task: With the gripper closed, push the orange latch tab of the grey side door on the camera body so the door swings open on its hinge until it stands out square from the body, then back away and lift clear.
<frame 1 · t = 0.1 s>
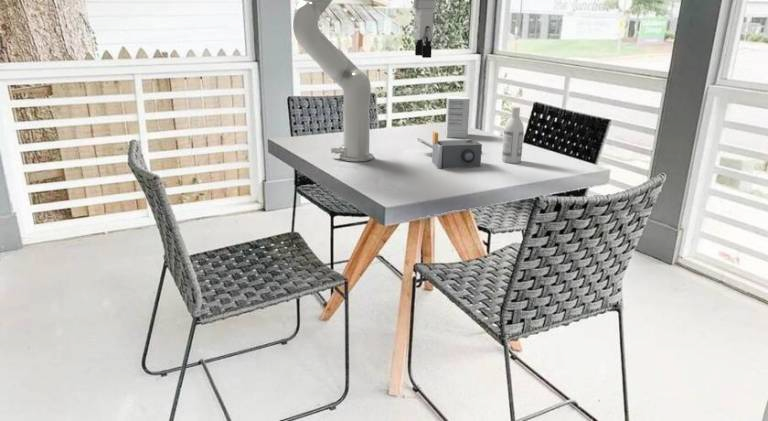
hand: (422, 56, 212), 37 cm above the table, tool pointing down, fingers open, 9 cm apart
side door: (437, 149, 210), point 6 cm above the table, hinge at 0.0°
bath foam: (511, 161, 219), on the table
supplement box: (456, 136, 261), on the table
mobile phone: (449, 154, 230), on the table
camera body: (458, 164, 213), on the table
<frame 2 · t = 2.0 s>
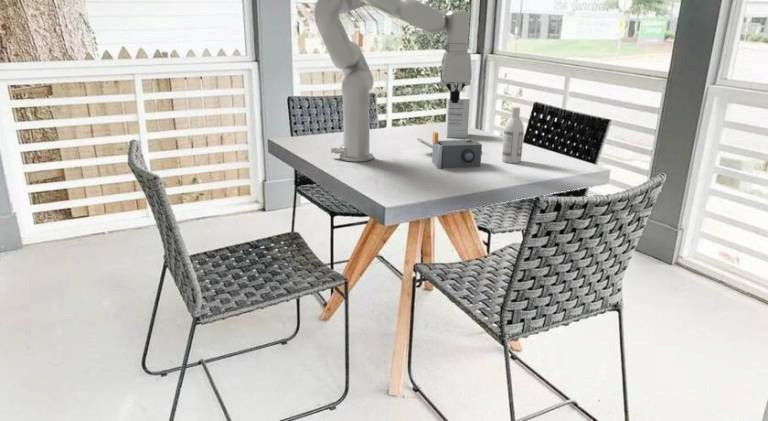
hand: (454, 102, 208), 22 cm above the table, tool pointing down, fingers closed
nothing on the table moved.
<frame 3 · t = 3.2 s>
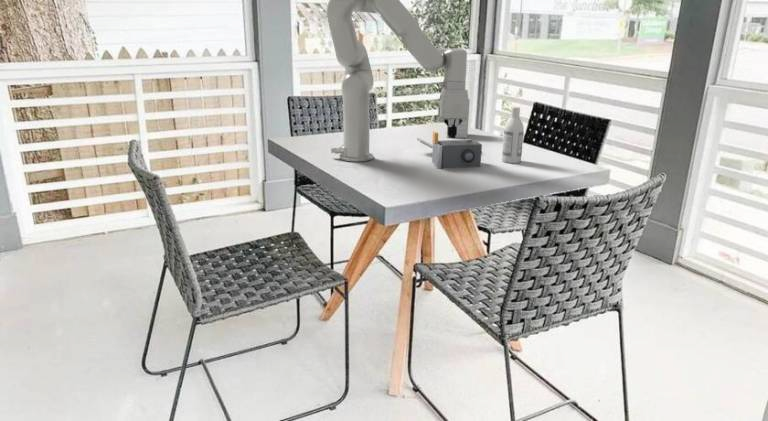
hand: (451, 137, 212), 9 cm above the table, tool pointing down, fingers closed
nothing on the table moved.
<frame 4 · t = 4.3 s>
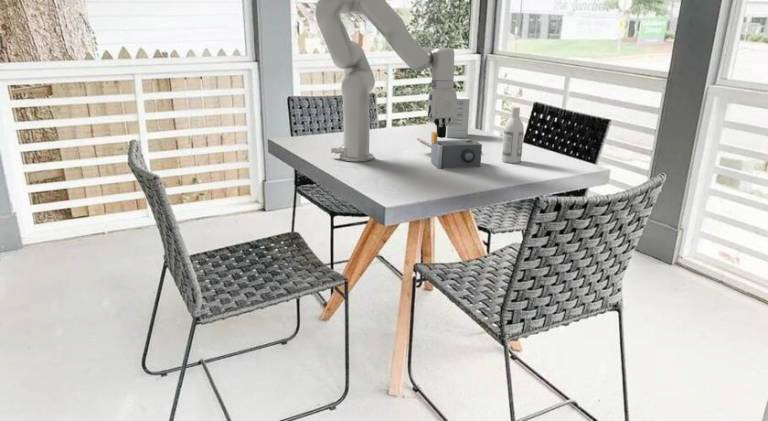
hand: (441, 137, 211), 10 cm above the table, tool pointing down, fingers closed
side door: (436, 149, 210), point 6 cm above the table, hinge at 3.4°, touching gripper
everything else where it was.
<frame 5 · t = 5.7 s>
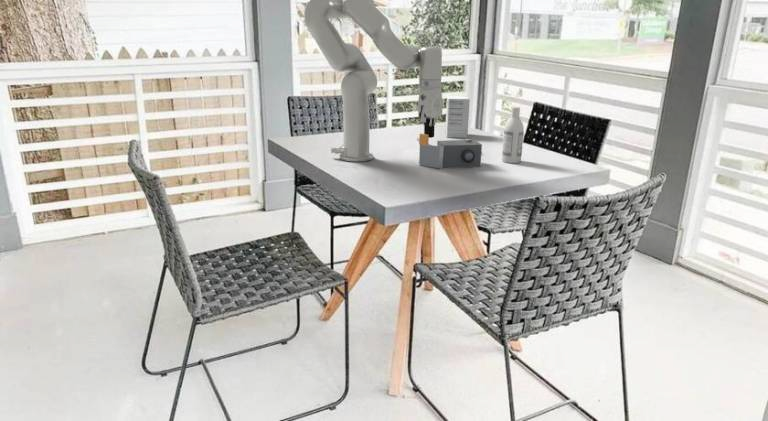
hand: (429, 136, 209), 10 cm above the table, tool pointing down, fingers closed
side door: (431, 151, 207), point 6 cm above the table, hinge at 47.8°, touching gripper
everything else where it was.
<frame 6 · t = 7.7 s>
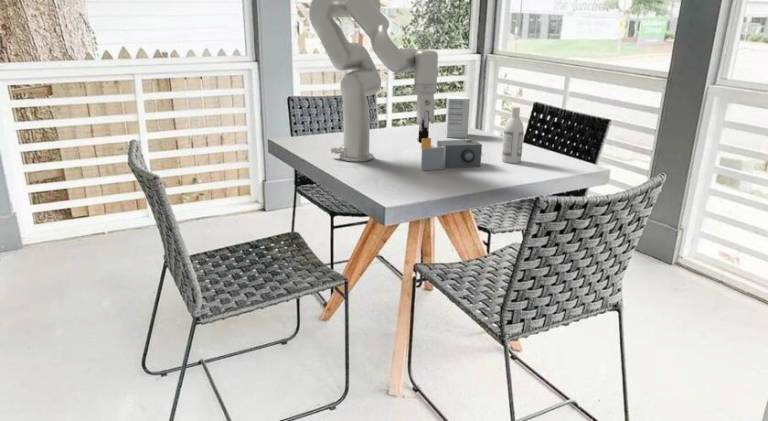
hand: (423, 142, 204), 9 cm above the table, tool pointing down, fingers closed
side door: (433, 153, 204), point 6 cm above the table, hinge at 104.5°
everything else where it was.
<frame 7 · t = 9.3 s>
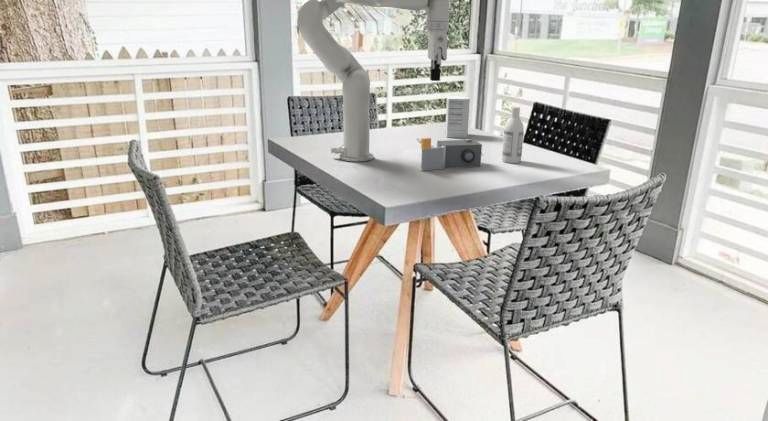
hand: (435, 80, 211), 29 cm above the table, tool pointing down, fingers closed
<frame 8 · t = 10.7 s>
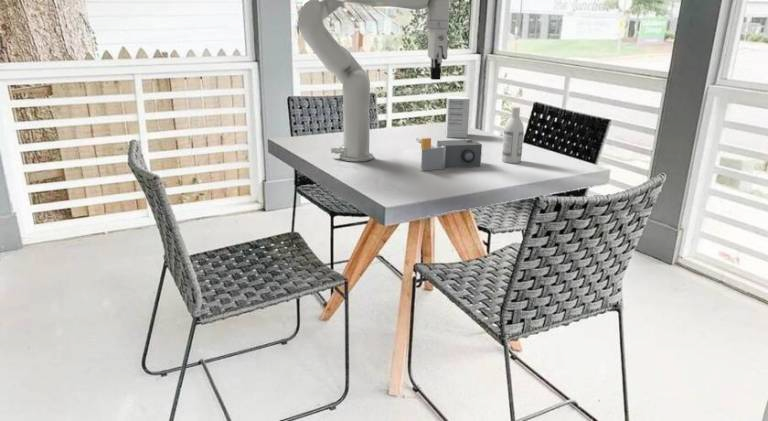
hand: (435, 79, 212), 29 cm above the table, tool pointing down, fingers closed
at the end: side door at +104° (first picture: +0°); side door touching nothing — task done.
